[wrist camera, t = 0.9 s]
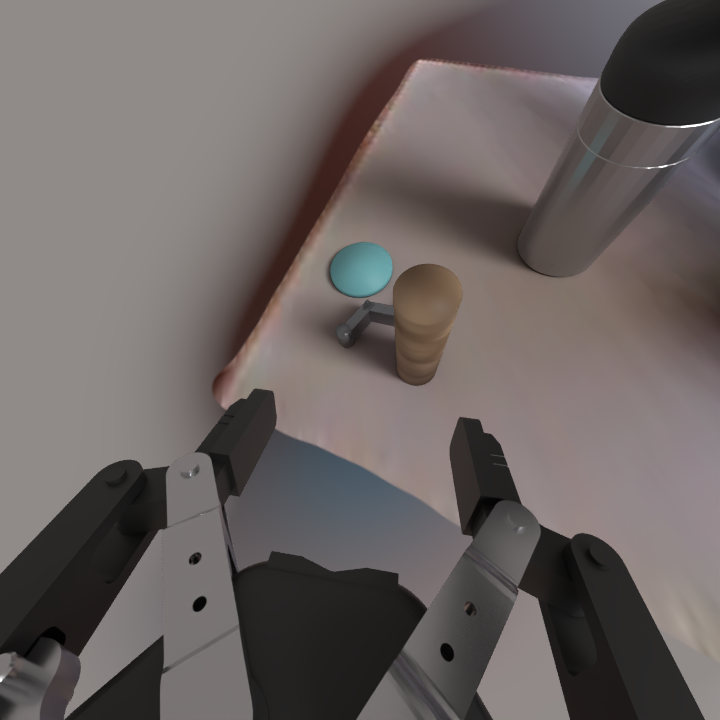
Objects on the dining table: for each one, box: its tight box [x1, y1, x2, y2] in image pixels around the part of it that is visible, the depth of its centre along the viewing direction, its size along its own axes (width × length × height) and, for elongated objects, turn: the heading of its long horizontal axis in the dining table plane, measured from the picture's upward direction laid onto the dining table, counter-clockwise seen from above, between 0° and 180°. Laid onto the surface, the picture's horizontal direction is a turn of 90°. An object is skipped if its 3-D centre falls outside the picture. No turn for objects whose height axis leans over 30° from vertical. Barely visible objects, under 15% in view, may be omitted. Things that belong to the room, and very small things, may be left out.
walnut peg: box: [393, 264, 463, 386], centre depth 27 cm, size 5×5×16 cm
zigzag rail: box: [335, 300, 395, 348], centre depth 36 cm, size 14×5×3 cm, turn 115°
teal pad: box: [330, 242, 392, 298], centre depth 40 cm, size 8×8×1 cm
